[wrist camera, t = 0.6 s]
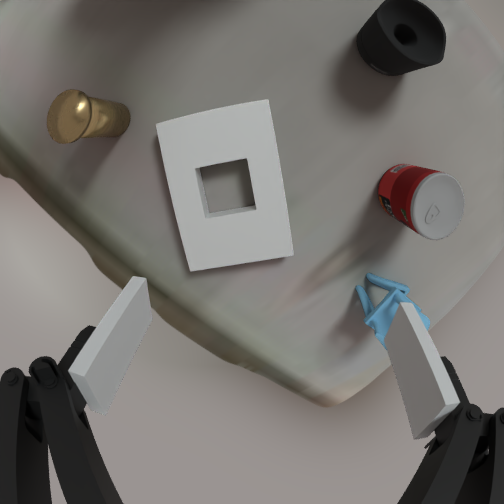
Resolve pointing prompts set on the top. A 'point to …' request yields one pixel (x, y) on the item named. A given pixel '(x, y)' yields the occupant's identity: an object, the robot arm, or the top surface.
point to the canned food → (422, 200)
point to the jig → (193, 195)
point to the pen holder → (402, 38)
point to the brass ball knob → (85, 117)
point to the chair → (385, 306)
